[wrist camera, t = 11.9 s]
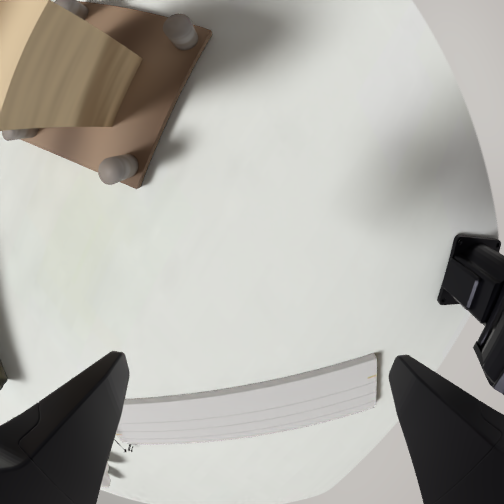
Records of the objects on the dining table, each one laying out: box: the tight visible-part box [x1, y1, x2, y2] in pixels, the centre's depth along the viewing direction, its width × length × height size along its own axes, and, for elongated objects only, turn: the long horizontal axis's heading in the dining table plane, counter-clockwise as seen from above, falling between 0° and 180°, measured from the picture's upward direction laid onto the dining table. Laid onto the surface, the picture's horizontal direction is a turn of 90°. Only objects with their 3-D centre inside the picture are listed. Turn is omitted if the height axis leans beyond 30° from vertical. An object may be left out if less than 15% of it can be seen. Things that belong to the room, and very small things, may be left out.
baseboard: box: [114, 353, 377, 452], centre depth 27 cm, size 30×3×10 cm
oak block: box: [0, 0, 143, 131], centre depth 11 cm, size 5×5×11 cm
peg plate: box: [2, 0, 212, 189], centre depth 15 cm, size 12×12×4 cm
